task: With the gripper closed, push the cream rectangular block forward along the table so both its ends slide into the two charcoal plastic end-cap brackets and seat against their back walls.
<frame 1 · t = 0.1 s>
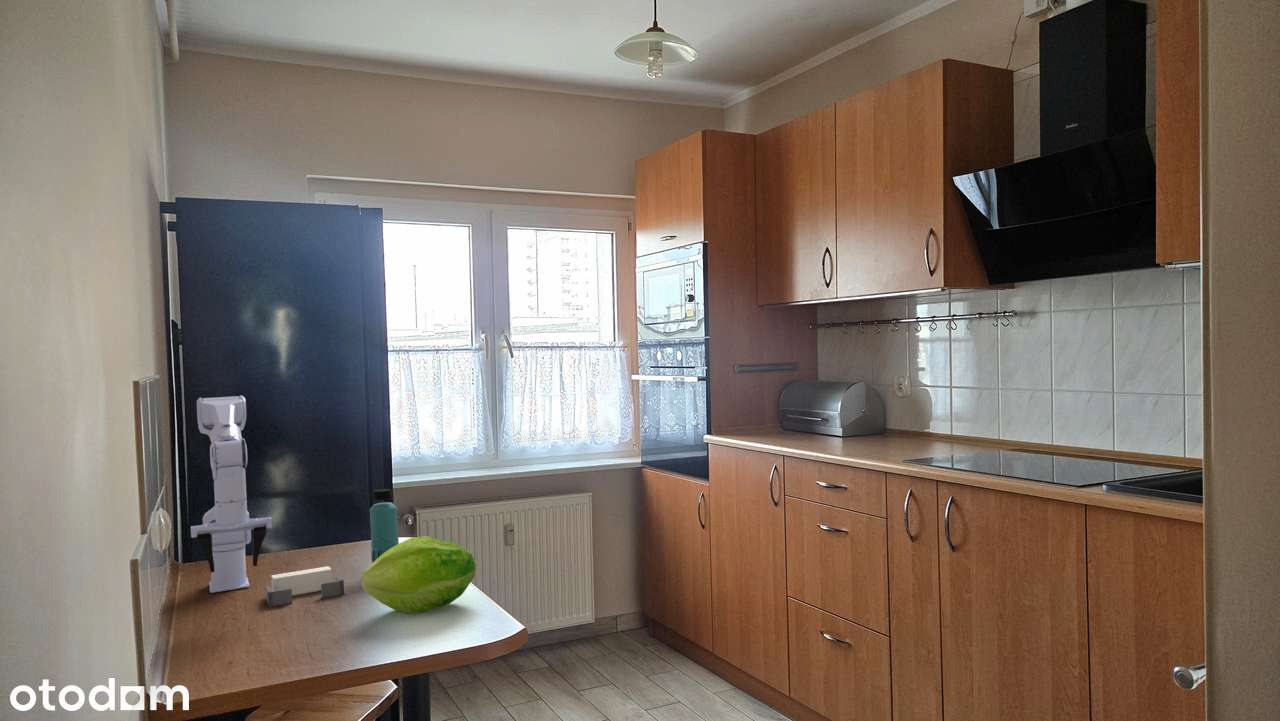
hand: (234, 568, 167), 10 cm above the table, tool pointing down, fingers open, 7 cm apart
beverage bottle: (386, 574, 197), on the table
end cap b: (330, 593, 182), on the table
cream rectangular block: (302, 592, 184), on the table
green papaya: (421, 610, 167), on the table
end cap a: (280, 601, 177), on the table
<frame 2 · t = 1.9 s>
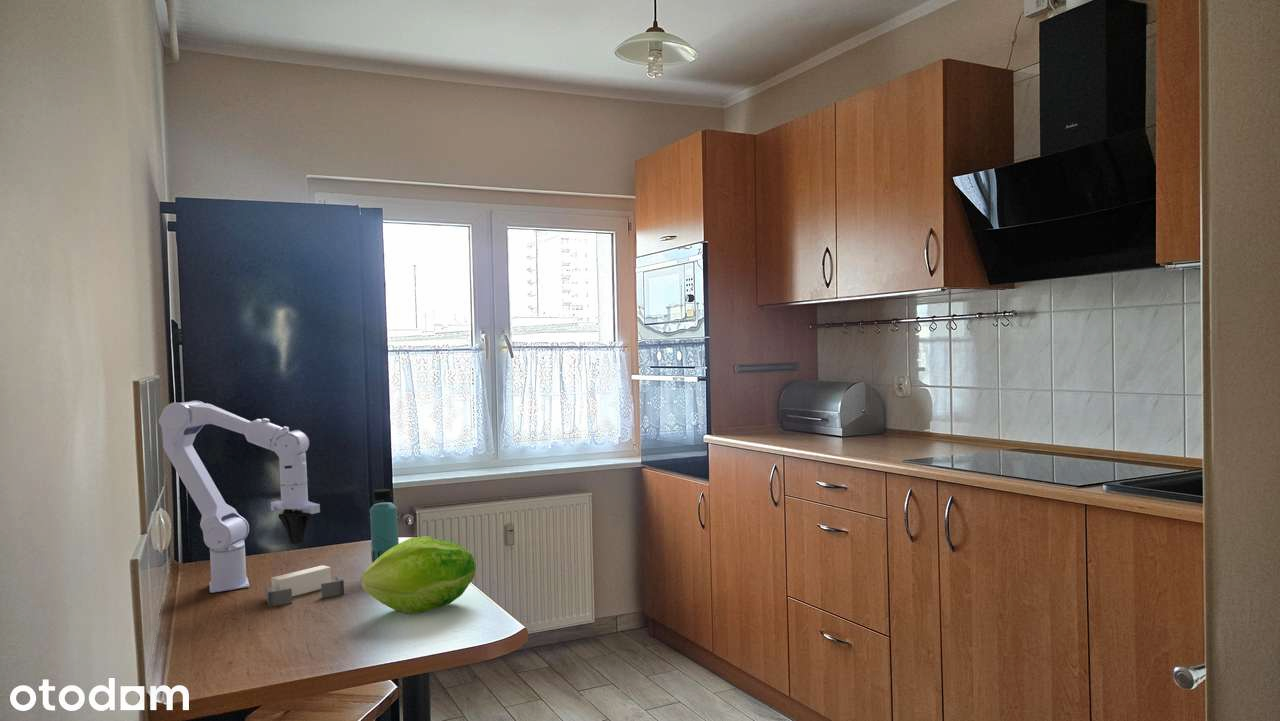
hand: (296, 543, 191), 9 cm above the table, tool pointing down, fingers closed
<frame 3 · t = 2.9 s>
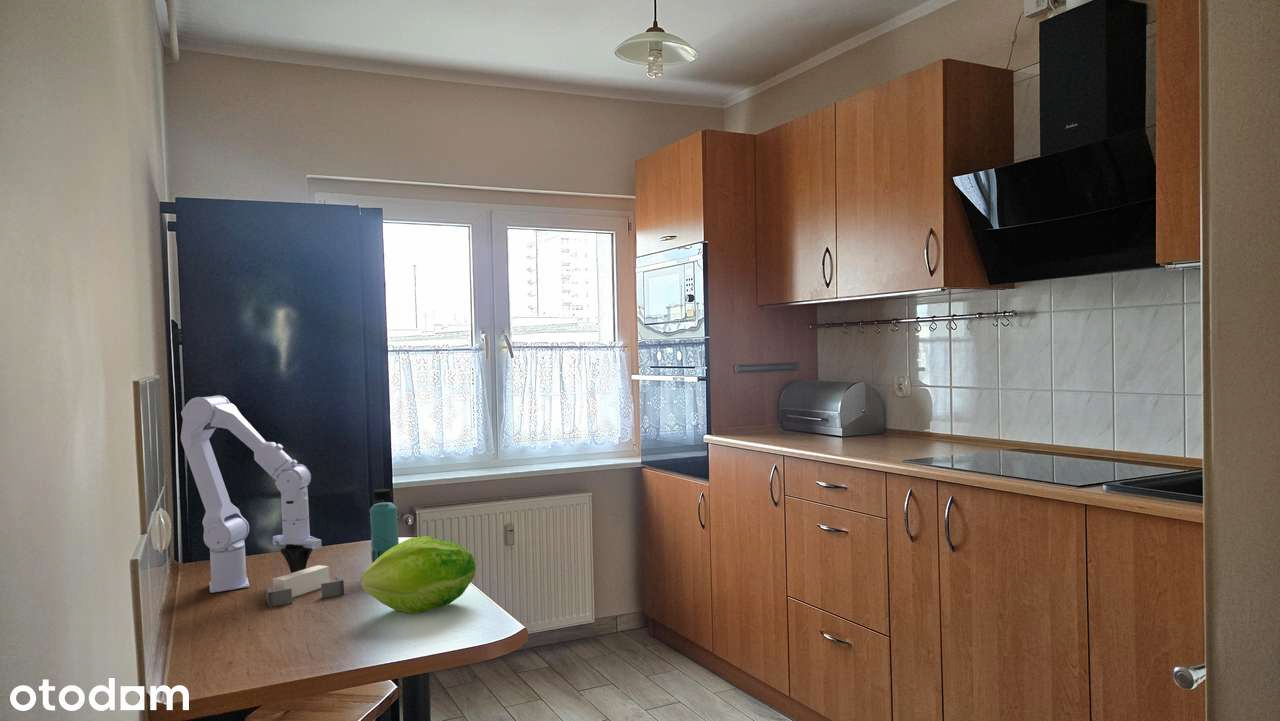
hand: (298, 577, 191), 1 cm above the table, tool pointing down, fingers closed
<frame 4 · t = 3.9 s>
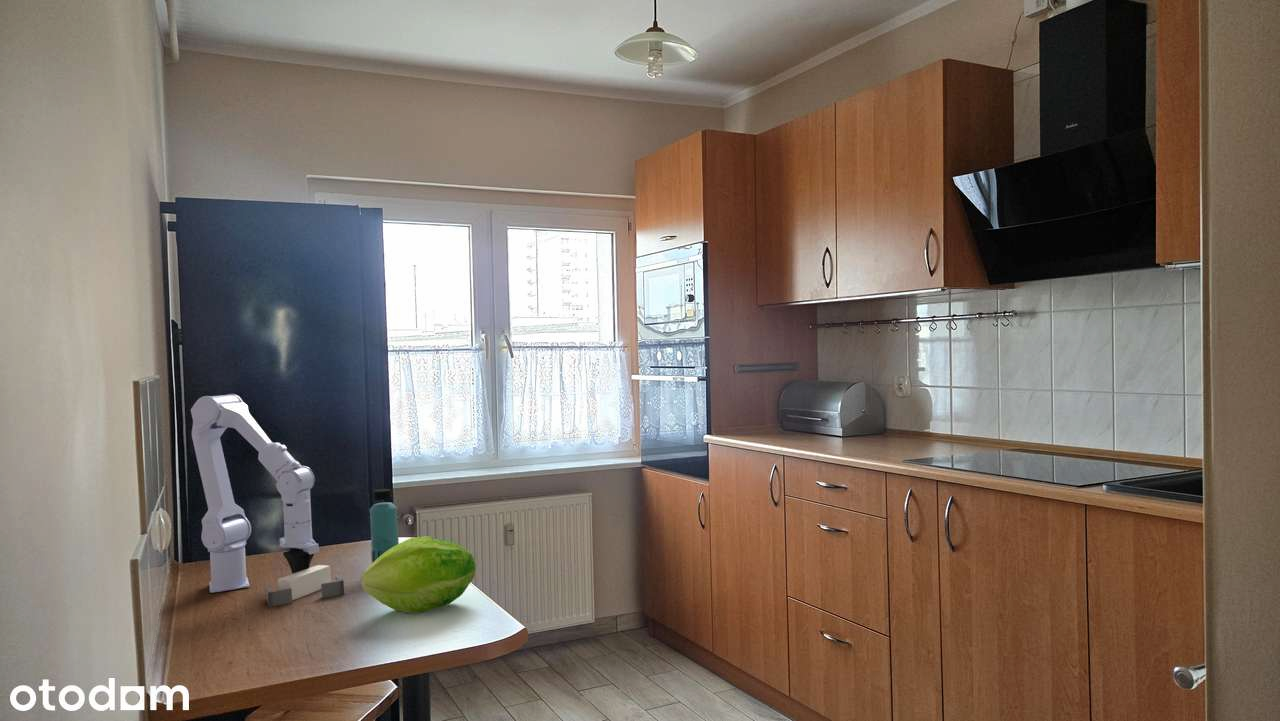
hand: (300, 581, 187), 1 cm above the table, tool pointing down, fingers closed
cream rectangular block: (305, 592, 184), on the table, touching gripper
everything else where it was.
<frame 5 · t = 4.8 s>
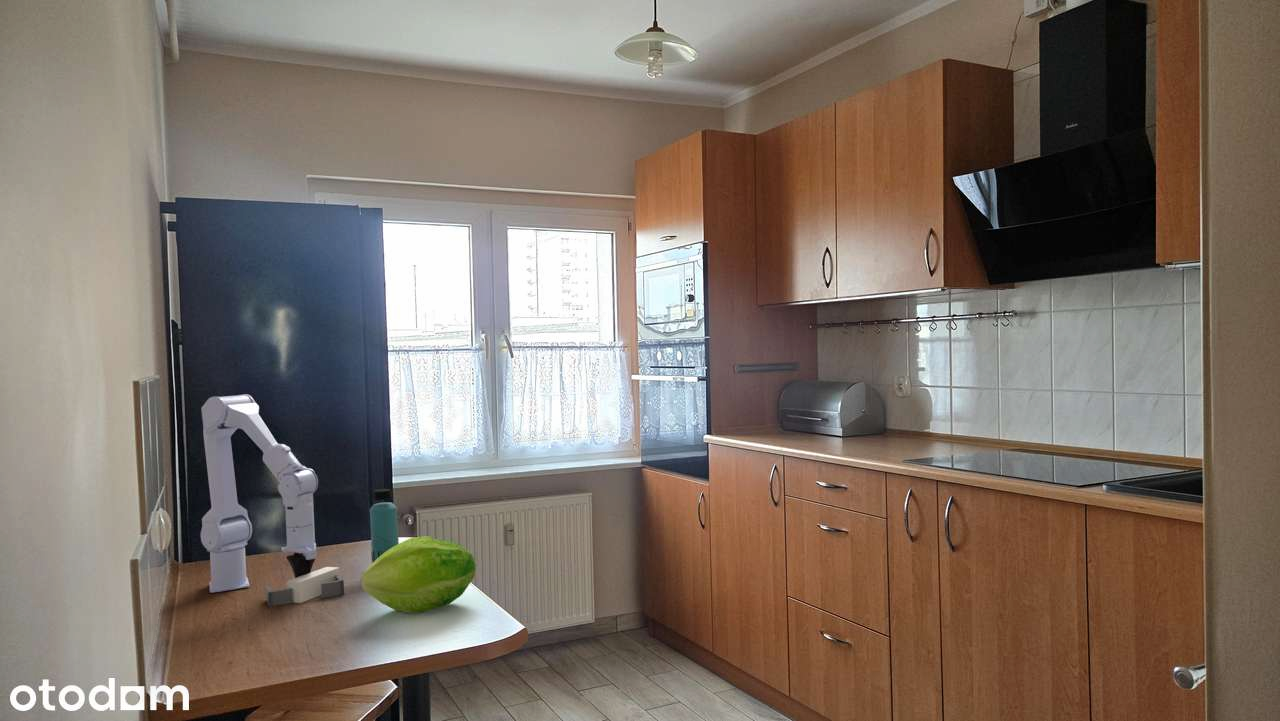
hand: (303, 586, 183), 1 cm above the table, tool pointing down, fingers closed, pressing on cream rectangular block
cream rectangular block: (314, 594, 182), on the table, touching end cap a, end cap b, gripper
everything else where it was.
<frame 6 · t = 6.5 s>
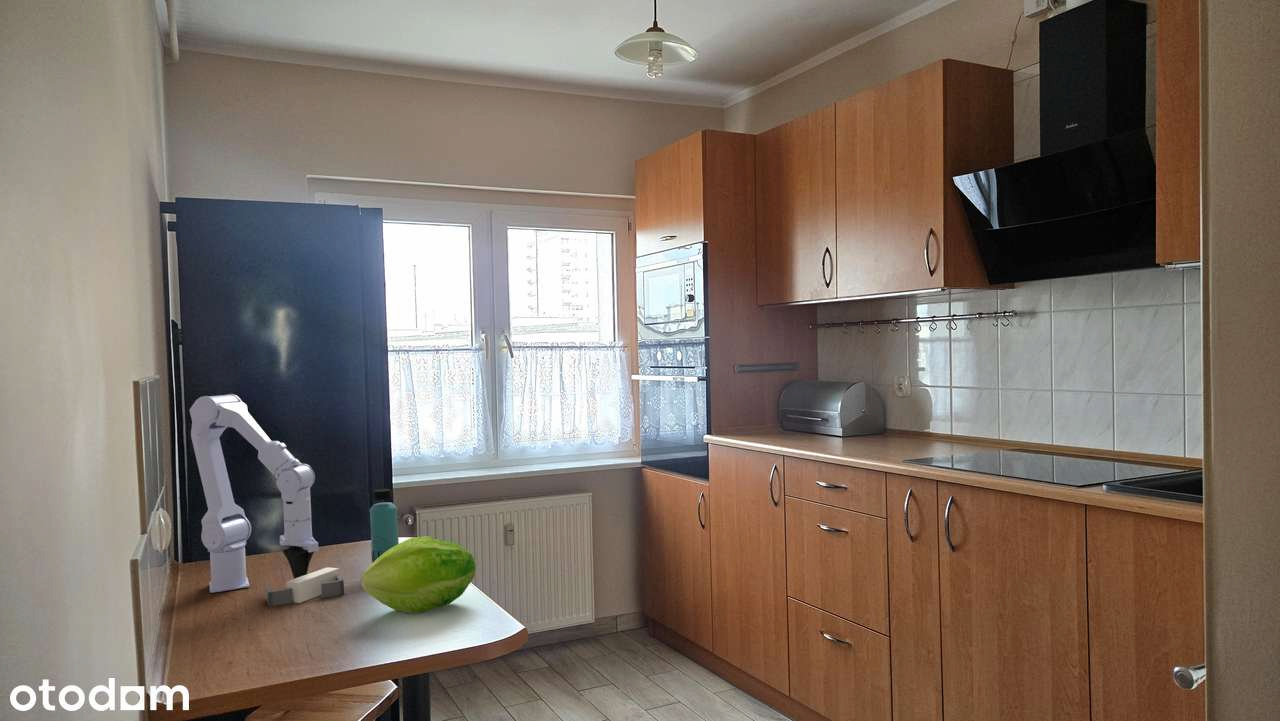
hand: (300, 579, 187), 2 cm above the table, tool pointing down, fingers closed
cream rectangular block: (314, 595, 182), on the table
everything else where it was.
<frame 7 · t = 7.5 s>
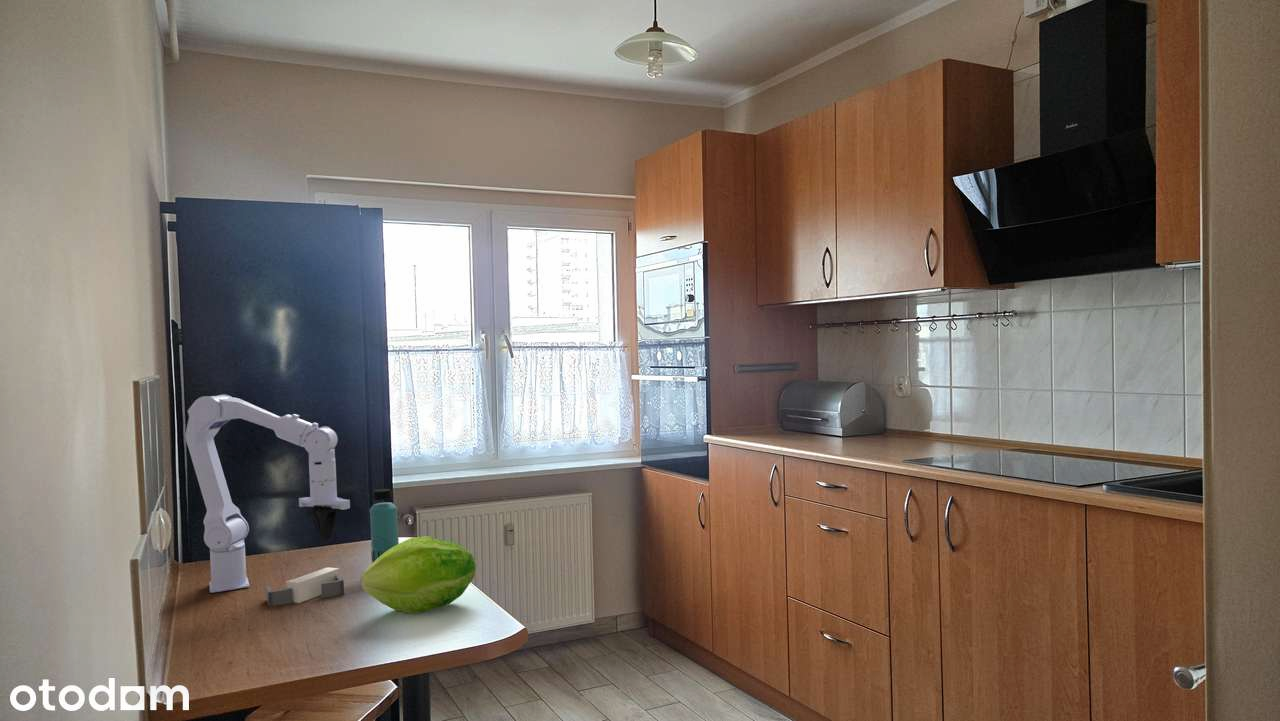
hand: (325, 539, 192), 10 cm above the table, tool pointing down, fingers closed
nothing on the table moved.
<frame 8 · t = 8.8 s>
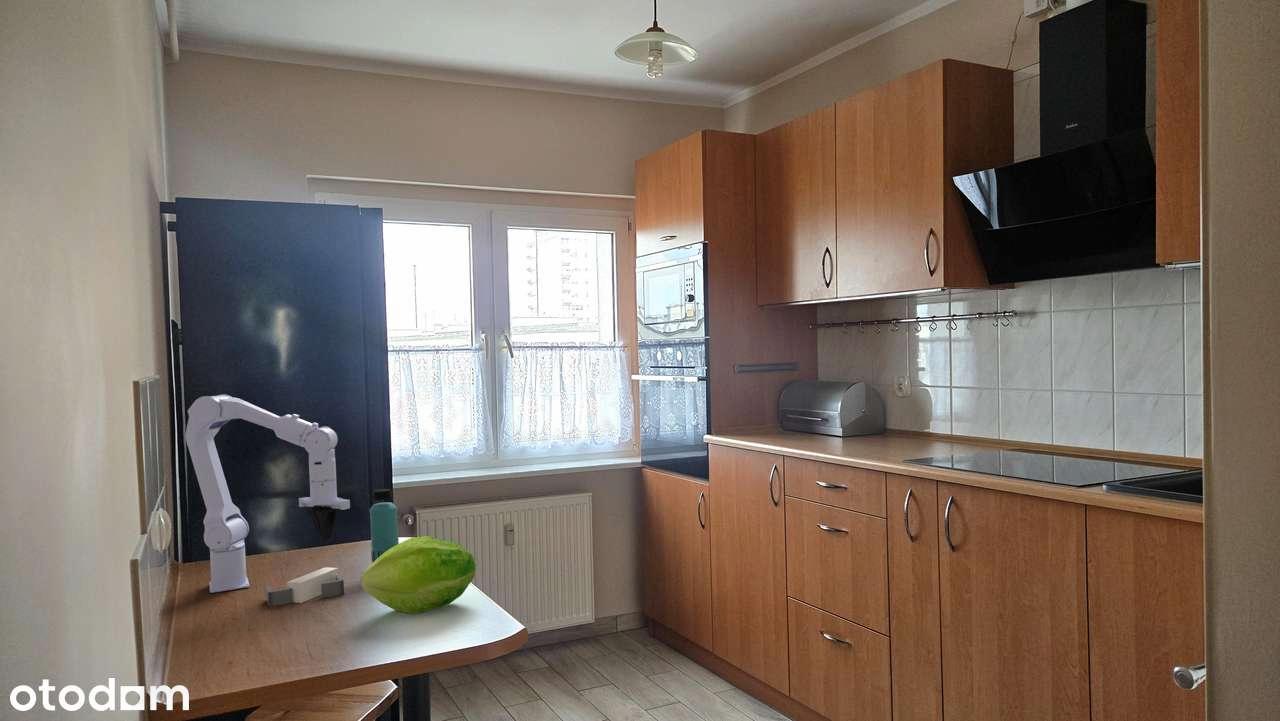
hand: (325, 539, 192), 10 cm above the table, tool pointing down, fingers closed
nothing on the table moved.
at the end: cream rectangular block 2.8 cm from the target spot, on the table; cream rectangular block tilted 0°; cream rectangular block moved 4.5 cm from its start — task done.
